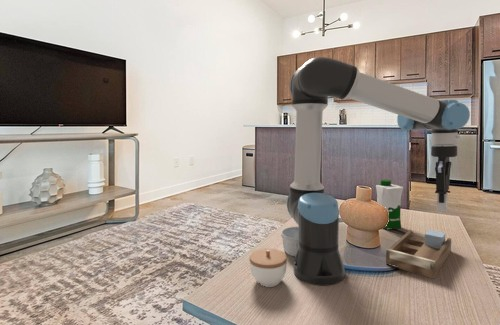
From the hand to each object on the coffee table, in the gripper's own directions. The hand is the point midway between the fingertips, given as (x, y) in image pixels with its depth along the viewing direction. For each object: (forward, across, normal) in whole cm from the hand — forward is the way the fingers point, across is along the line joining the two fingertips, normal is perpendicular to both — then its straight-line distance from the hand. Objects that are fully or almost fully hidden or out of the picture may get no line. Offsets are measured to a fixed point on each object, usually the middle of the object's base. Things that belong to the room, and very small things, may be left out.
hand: (441, 210), depth 101 cm
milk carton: (+13, +8, +21) cm, 26 cm away
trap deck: (+13, -16, +3) cm, 20 cm away
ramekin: (+12, -37, +36) cm, 53 cm away
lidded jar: (+12, -60, +31) cm, 68 cm away
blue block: (+10, -8, 0) cm, 13 cm away
